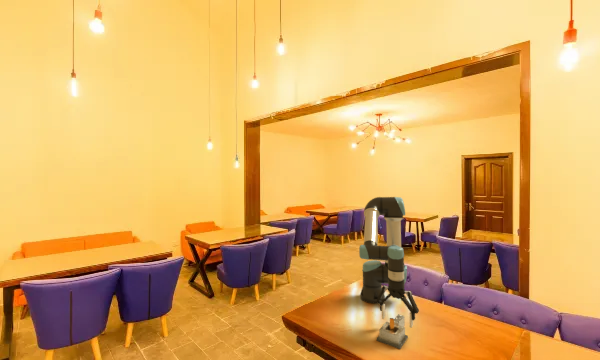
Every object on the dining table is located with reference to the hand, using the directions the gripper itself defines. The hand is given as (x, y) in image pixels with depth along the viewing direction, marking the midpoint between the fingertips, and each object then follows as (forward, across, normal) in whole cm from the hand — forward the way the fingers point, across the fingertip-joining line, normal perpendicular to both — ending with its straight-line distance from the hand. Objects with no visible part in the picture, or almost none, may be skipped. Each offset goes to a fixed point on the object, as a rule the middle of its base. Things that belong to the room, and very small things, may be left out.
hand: (397, 321), depth 133 cm
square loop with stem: (+4, 0, -2) cm, 5 cm away
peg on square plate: (+5, 0, -7) cm, 9 cm away
